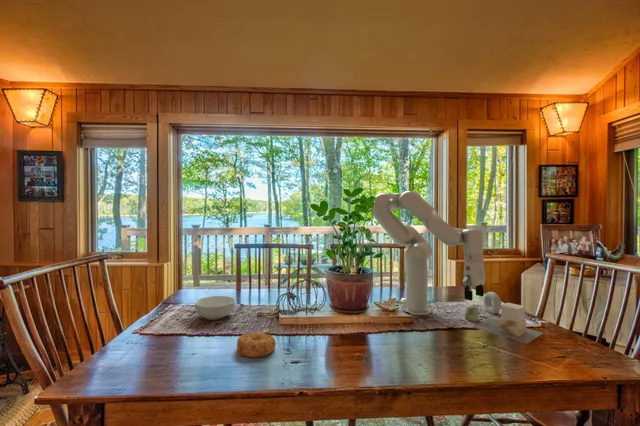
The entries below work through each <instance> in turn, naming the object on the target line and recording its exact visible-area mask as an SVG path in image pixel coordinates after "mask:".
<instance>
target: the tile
mask: <svg viewBox="0 0 640 426" xmlns="http://www.w3.org/2000/svg"><path fill="white" fill-rule="evenodd" d="M471 327H472V328H475V329H478V330H481V331H484V332H487V333H490V334H495V335H497V336H500V337H504V338H507V339H510V340H514V341H518V342H521V343H523V344H527V345H528V344H530V343H531V342H532V341H534V340H536V339H537V338H539V337H540V336H541V335H543V334H544V332H542V331H538V330H534V329H529V328H527V327H526V332H525V333H523V334H522V335H520V336H515V335H512V334H509V333H505V332H502V331H499V319H497V320H496V319H494V318H488V319H486V320H483V321H481V322H479V323H476V324H474V325H472V326H471Z"/></svg>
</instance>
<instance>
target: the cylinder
mask: <svg viewBox="0 0 640 426" xmlns="http://www.w3.org/2000/svg"><path fill="white" fill-rule="evenodd" d="M464 307H465V309H464V311H465V312H464V315H465V316H464V317H465V318H464V320H465V321H468V322H472V323H476V322H478V321H479V307H478V306H475V305H470V304H469V305H465V306H464Z"/></svg>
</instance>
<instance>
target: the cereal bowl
mask: <svg viewBox="0 0 640 426" xmlns="http://www.w3.org/2000/svg"><path fill="white" fill-rule="evenodd" d="M235 306H236V299H235V298H234V297H232V296H226V295H214V296H206V297H201V298H199V299H197V300H196V301H195V302H194V309H195V313H197V314H198V316H200V317H202V318H205V319H206V320H209V321H210V320H211V321H213V320H215V321H216V320H220V319H223V318H225V317H226V316H228V315H230V314H231V313H232V312H233V311H234V309H235Z"/></svg>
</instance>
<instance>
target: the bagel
mask: <svg viewBox="0 0 640 426" xmlns="http://www.w3.org/2000/svg"><path fill="white" fill-rule="evenodd" d="M276 345H277V342H276V339H275V337H274V336H272V335H271V334H269V333H266V332H265V333H264V332H258V331H256V332H249V331H248V332H246V333H244V334H241V335H240V336H239V337H238V339H237V342H236V349H237V352H238V354H239V355H241V356H243V357H247V358H261V357H264V356H267V355H270V354H271V353H273V351H274V350H275V348H276Z"/></svg>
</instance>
